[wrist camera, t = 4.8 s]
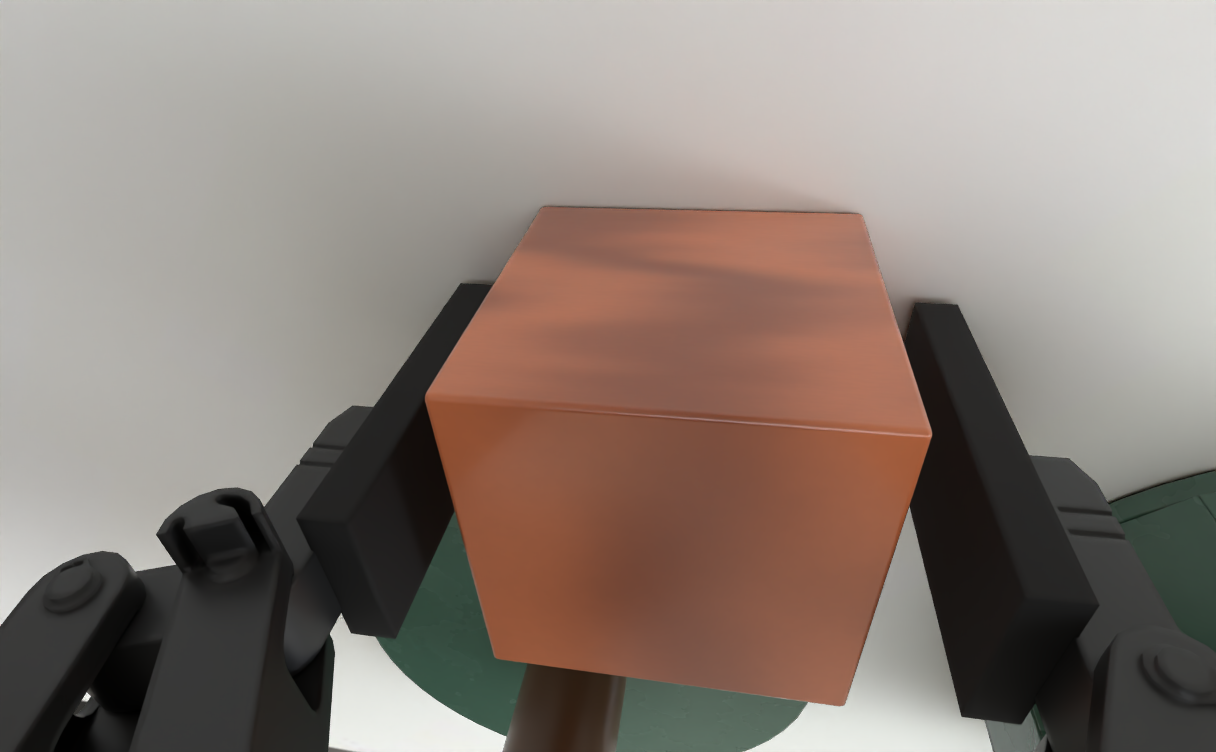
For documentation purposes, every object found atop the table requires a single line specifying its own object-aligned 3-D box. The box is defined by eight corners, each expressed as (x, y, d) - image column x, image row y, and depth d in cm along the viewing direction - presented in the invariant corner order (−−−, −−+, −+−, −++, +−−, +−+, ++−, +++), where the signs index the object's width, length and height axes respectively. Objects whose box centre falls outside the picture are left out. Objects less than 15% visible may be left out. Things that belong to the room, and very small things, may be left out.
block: (566, 435, 17) (492, 660, 12) (540, 205, 13) (420, 396, 8) (816, 455, 16) (845, 709, 11) (863, 211, 12) (936, 433, 7)
